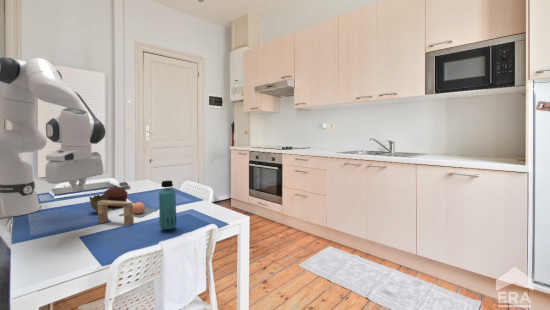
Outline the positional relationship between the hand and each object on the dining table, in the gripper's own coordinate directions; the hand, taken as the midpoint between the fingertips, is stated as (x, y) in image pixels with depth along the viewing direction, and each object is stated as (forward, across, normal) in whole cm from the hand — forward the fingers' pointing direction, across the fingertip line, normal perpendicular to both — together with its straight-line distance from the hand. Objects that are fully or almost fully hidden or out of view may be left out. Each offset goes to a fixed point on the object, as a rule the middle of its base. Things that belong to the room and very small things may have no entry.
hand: (78, 191), depth 97 cm
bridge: (+17, -15, +3) cm, 23 cm away
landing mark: (+17, -29, +3) cm, 34 cm away
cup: (+18, -25, -15) cm, 35 cm away
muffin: (+18, -35, -15) cm, 42 cm away
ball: (+14, -28, +4) cm, 31 cm away
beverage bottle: (+17, -12, +29) cm, 35 cm away
